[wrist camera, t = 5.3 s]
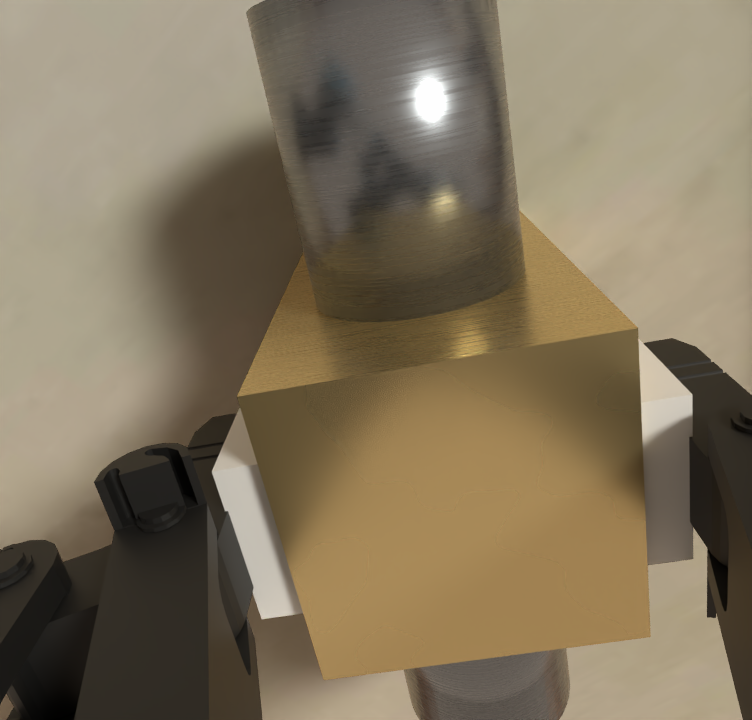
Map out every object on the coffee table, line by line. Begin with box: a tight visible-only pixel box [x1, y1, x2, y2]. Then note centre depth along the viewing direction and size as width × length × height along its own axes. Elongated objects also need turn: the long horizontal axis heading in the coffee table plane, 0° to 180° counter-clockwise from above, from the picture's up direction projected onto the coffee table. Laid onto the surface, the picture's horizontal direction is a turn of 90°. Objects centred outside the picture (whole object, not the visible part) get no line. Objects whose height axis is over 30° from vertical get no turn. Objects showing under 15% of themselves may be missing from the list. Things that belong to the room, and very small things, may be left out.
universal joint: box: [237, 0, 650, 720], centre depth 13 cm, size 5×14×8 cm, turn 11°
